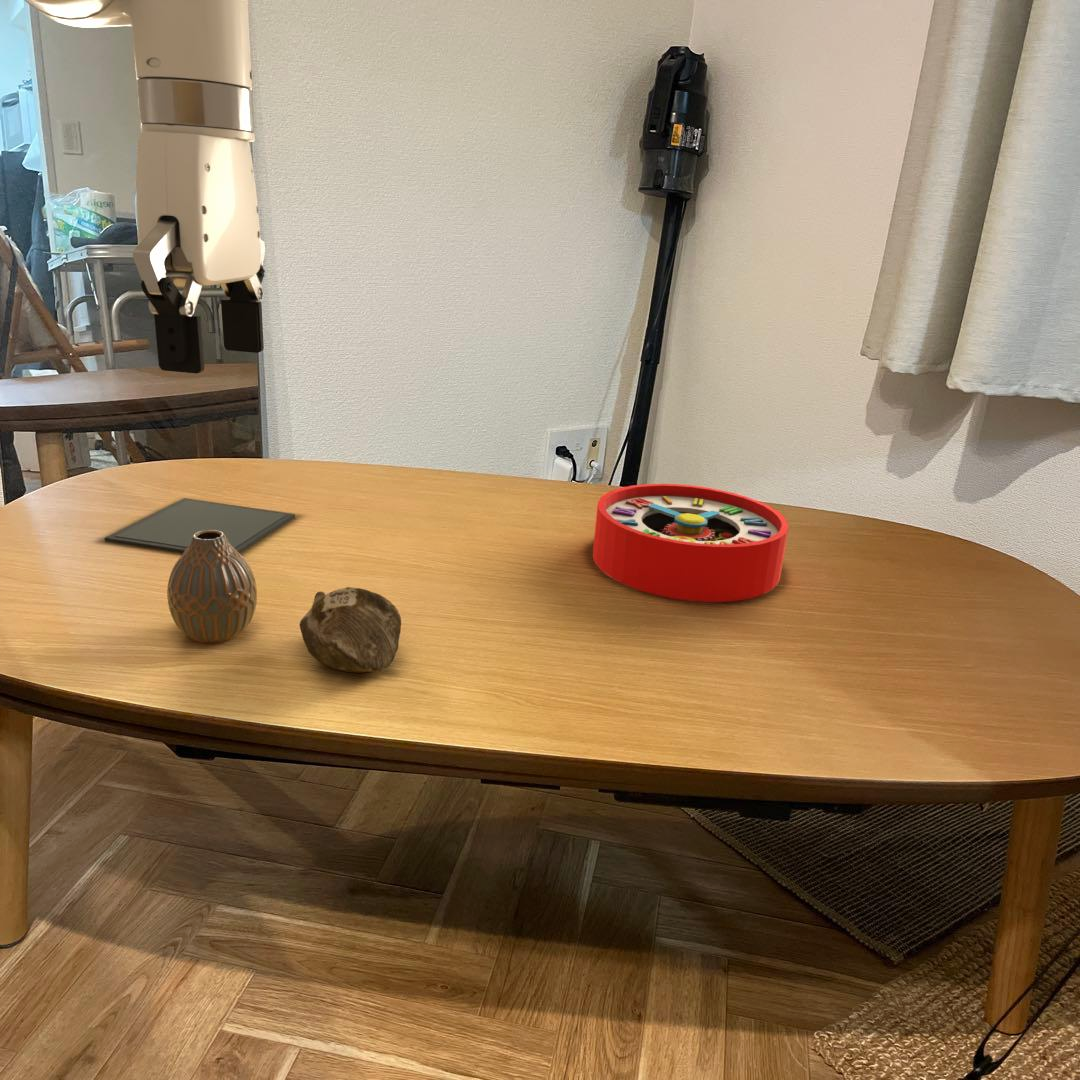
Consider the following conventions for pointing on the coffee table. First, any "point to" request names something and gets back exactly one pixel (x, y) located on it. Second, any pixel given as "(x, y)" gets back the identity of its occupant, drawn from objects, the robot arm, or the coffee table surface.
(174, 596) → the vase
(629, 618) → the coffee table surface
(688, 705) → the coffee table surface
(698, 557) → the toy clock
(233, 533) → the mat
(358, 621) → the fossilized seashell
